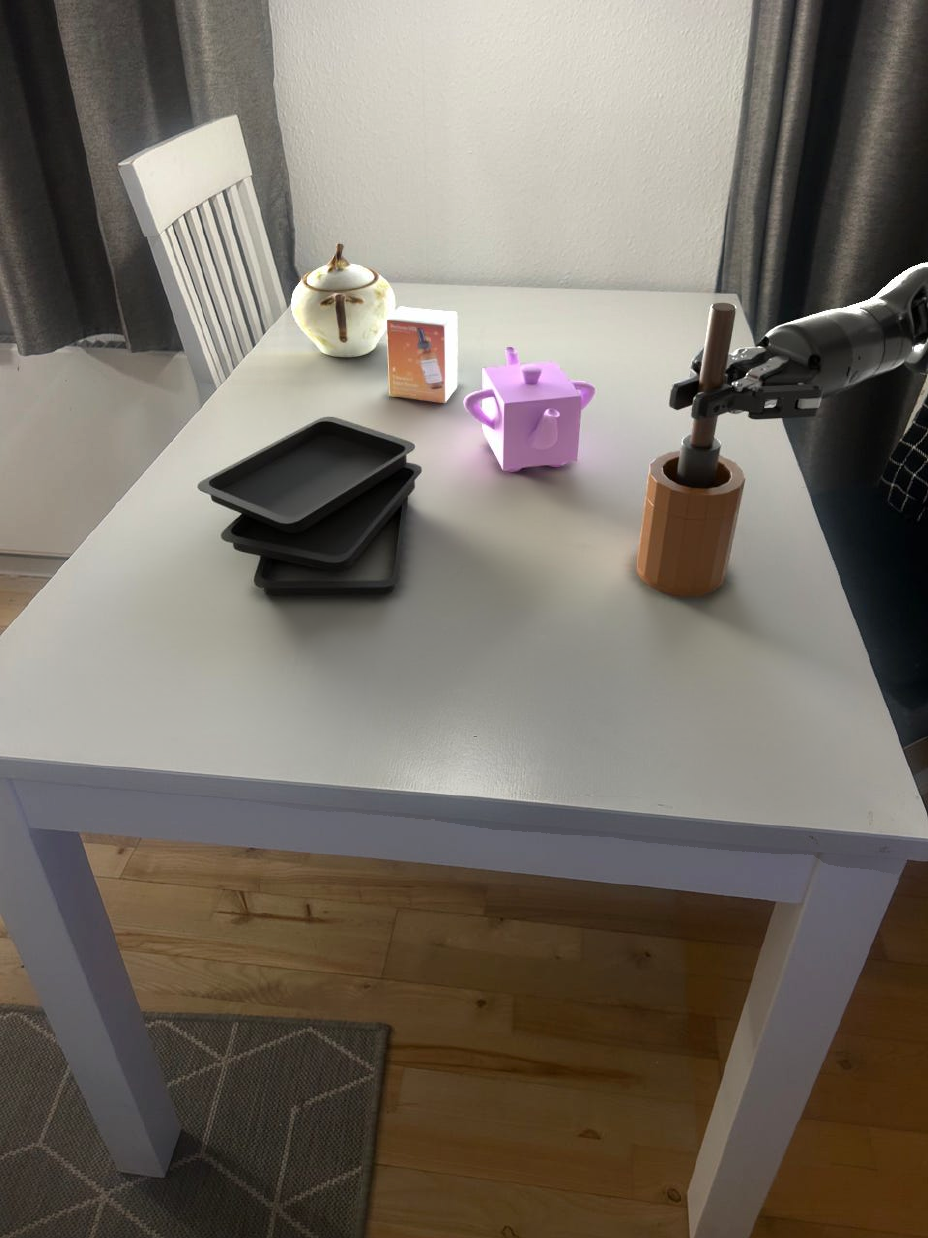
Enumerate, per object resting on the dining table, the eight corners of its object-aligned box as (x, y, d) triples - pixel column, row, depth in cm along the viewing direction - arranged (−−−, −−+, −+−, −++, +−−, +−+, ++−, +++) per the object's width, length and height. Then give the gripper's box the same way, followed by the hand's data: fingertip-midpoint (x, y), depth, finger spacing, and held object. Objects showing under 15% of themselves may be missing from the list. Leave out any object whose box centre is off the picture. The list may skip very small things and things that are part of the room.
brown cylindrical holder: (700, 543, 93) (717, 445, 86) (740, 590, 86) (762, 487, 80) (623, 555, 91) (635, 456, 85) (657, 603, 85) (673, 500, 78)
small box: (388, 397, 122) (384, 319, 115) (403, 381, 126) (399, 304, 119) (446, 404, 120) (444, 325, 113) (458, 387, 124) (457, 310, 118)
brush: (700, 490, 86) (733, 297, 75) (717, 508, 83) (753, 311, 72) (667, 495, 85) (694, 301, 74) (682, 513, 83) (714, 315, 71)
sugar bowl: (399, 371, 129) (393, 261, 120) (292, 375, 128) (278, 265, 119) (395, 322, 144) (390, 221, 135) (300, 325, 143) (288, 224, 134)
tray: (449, 595, 86) (448, 549, 83) (197, 622, 83) (186, 575, 80) (410, 450, 110) (408, 410, 106) (212, 467, 107) (204, 426, 103)
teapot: (442, 459, 108) (440, 370, 101) (506, 419, 116) (509, 335, 110) (551, 498, 100) (557, 405, 94) (611, 452, 109) (621, 364, 102)
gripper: (768, 295, 86) (632, 334, 79) (896, 339, 77) (756, 388, 70) (753, 371, 91) (623, 415, 83) (872, 421, 82) (739, 476, 74)
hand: (684, 403), depth 76 cm, fingers closed on brush, 2 cm apart
